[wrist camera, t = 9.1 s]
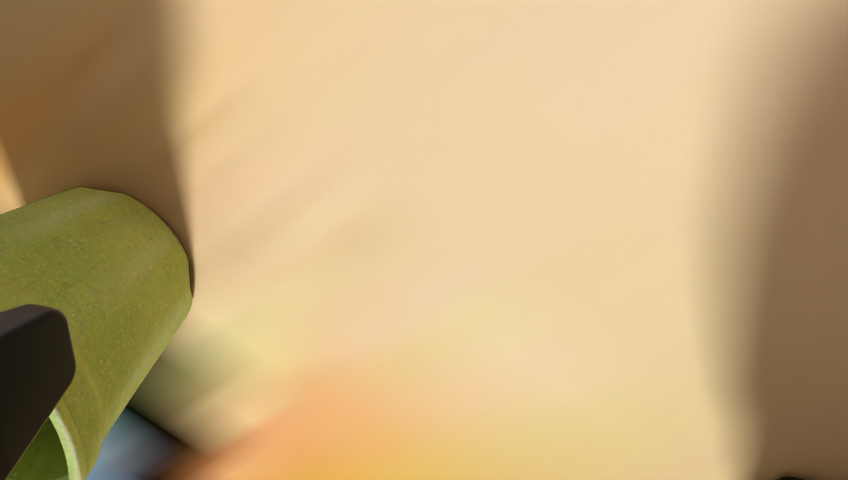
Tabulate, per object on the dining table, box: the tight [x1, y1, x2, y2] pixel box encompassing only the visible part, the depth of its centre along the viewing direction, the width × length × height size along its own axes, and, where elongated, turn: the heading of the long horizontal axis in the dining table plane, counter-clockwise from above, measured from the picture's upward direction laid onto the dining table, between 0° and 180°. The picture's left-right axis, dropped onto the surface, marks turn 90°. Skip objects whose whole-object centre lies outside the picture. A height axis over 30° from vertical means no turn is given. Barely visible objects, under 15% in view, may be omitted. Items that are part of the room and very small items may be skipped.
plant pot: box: [0, 187, 193, 480], centre depth 22 cm, size 9×9×9 cm
